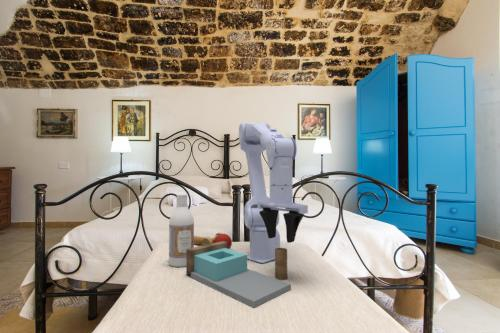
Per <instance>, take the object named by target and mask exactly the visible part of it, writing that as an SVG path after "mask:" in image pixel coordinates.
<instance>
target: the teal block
mask: <svg viewBox="0 0 500 333" xmlns="http://www.w3.org/2000/svg"><path fill="white" fill-rule="evenodd" d="M247 255H248V254H245V253H244V252H240V251H236V250H233V249H231V248H230V249H227V248H222V249H218V250H214V251H210V252H206V253H202V254H198V255H194V272H197V273H199V274H201V275H203V276H206V277H208V278H210V279H212V280H215V281H218V280H221V279H224V278H227V277H230V276H233V275H236V274H238V273H241V272H244V271H247V269H248V259H247Z"/></svg>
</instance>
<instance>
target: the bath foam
mask: <svg viewBox="0 0 500 333" xmlns="http://www.w3.org/2000/svg"><path fill="white" fill-rule="evenodd" d="M193 216H194V215H193V214H192V212H191V210H190V209H189V207H188V194H187V193H177V194H176V207H175V208H174V210H173V212H172V213H171V216H170V217H169V223H168V224H169V225H168V263H169V265H170V266H171V267H175V268H182V267H184V268H185V267H186V257H187V249H190V248H194V247H195V244H194V236H195V221H194V217H193Z"/></svg>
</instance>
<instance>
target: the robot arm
mask: <svg viewBox="0 0 500 333" xmlns="http://www.w3.org/2000/svg"><path fill="white" fill-rule="evenodd" d="M238 140H239V147H240V150H242V151H243V152H245V157H246V158H245V159H246V161H247V162H246V163H247V171H248V177H249V178H248V179H249V180H248V181H249V186H250V194H251V195H250V196H251V198H250V199H249V200H248V201H247V202H245V205H244V208H243V210H244V213H243V214H244V215H243V216H244V218H243V220H244V225H245V227H246V228H247V229H248V230H249V254H247V260H250V261H253V262H256V263H259V264H264V263H268V262H271V261H275V249H276V248H281V234H280V232H279V230H278V229H277V227H278V225H279V222H280V211H282V212H285V213H282V215H283V218H284V219H283V220H284V222H285V223H284V224H285V232H286V234H285V235H286V236H285V237H286V242H287V243H293V242H295V239H296V235H297V231H298V228H299V225H300V223H301V222H302V220H303V218H304V215H306V214H308V213H309V212H308V210H309V207H308V204H301V203H298V202H293V161H294V160H295V158H296V155H297V149H298V148H297V142H296V140H295V139H294V138H293V137H288V138H285V137H284V136H283V134H281V133H279V132H278V131H277V129H276V128H274V127H273V128H271V126H270V123H265V122H264V123H261V122H244V121H242V122H241V123H240V124H239V127H238ZM263 152H265V155H266V159H267V167H268V168H269V196H267V187H266V183H265V175H264V170H263V162H262V157H261V155H262V153H263Z"/></svg>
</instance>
